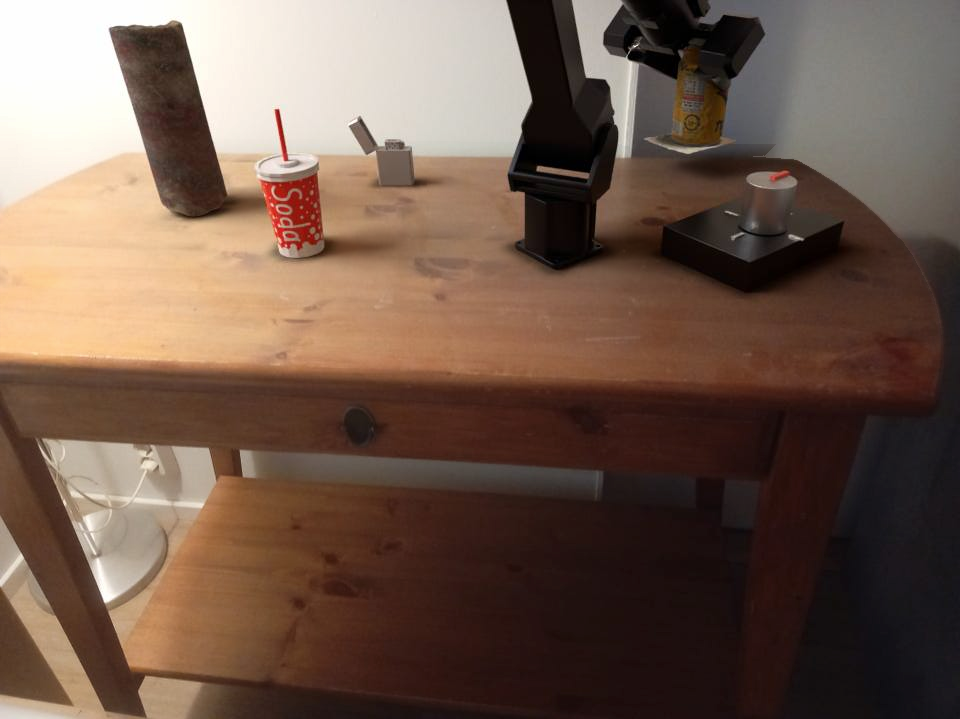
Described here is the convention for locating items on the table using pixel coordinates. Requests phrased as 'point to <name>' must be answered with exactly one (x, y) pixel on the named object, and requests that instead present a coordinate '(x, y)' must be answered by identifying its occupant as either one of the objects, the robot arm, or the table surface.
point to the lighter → (386, 155)
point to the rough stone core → (170, 116)
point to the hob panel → (748, 244)
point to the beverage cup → (292, 199)
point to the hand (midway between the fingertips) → (705, 84)
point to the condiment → (695, 111)
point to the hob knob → (767, 202)
